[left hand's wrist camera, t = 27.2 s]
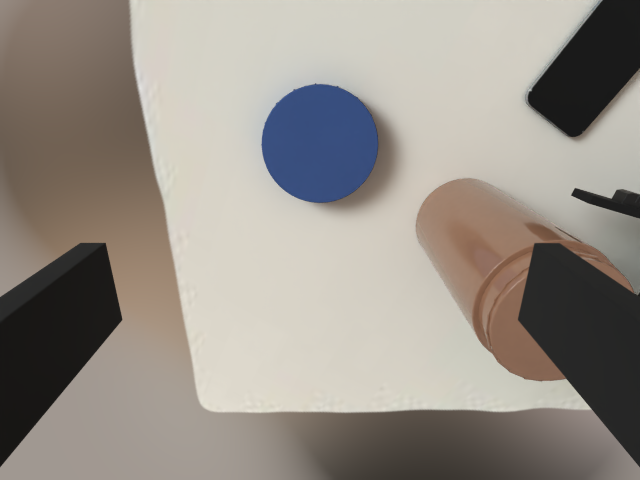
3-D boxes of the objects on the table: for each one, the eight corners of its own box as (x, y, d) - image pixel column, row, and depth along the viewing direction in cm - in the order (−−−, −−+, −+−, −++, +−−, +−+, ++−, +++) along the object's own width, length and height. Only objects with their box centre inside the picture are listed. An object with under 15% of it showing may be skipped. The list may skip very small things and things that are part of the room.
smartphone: (522, 99, 38) (648, -58, 33) (519, 98, 39) (642, -56, 34) (576, 141, 40) (703, -4, 35) (572, 140, 40) (697, -2, 36)
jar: (430, 170, 42) (518, 240, 23) (520, 187, 42) (674, 269, 24) (405, 255, 45) (463, 373, 27) (488, 270, 46) (600, 395, 28)
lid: (385, 182, 42) (388, 188, 40) (282, 208, 43) (280, 215, 41) (362, 70, 38) (364, 69, 36) (249, 101, 39) (245, 103, 37)
